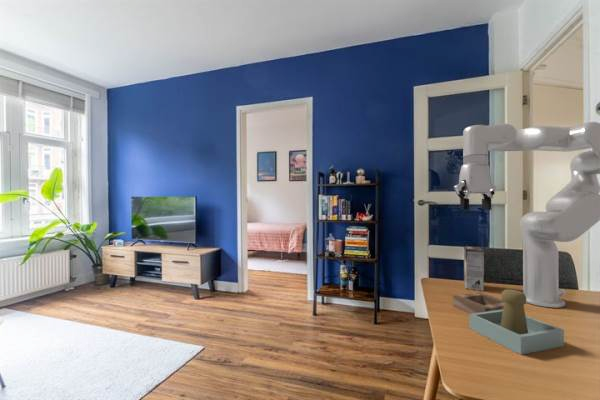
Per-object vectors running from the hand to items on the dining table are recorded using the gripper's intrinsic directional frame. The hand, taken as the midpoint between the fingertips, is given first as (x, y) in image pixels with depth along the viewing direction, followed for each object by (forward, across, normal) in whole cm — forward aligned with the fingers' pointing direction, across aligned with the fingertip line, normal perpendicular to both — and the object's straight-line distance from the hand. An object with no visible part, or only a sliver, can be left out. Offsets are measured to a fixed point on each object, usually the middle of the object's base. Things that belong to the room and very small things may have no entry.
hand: (475, 209), depth 100 cm
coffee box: (+32, -14, -14) cm, 38 cm away
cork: (+32, +13, +23) cm, 41 cm away
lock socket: (+32, +5, +7) cm, 33 cm away
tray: (+32, +13, +23) cm, 42 cm away
